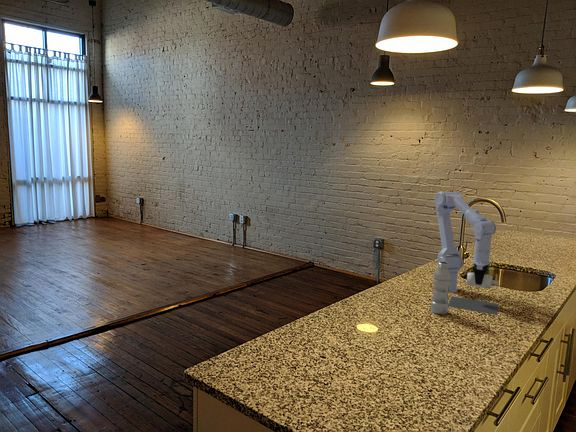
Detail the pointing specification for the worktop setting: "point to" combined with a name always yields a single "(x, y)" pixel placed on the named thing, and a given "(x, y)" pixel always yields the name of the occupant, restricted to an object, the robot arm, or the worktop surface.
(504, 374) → the worktop surface
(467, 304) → the rubber mat
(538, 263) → the worktop surface
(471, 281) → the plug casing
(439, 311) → the plastic bottle
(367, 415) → the worktop surface
